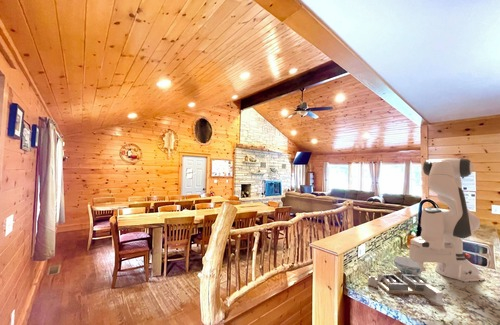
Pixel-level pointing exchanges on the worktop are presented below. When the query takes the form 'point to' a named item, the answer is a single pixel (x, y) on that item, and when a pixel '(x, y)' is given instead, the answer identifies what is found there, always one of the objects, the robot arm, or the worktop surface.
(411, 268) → the chinaware
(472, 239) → the worktop surface
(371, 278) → the lighter
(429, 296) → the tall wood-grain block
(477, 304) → the worktop surface
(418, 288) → the metal roller rack
